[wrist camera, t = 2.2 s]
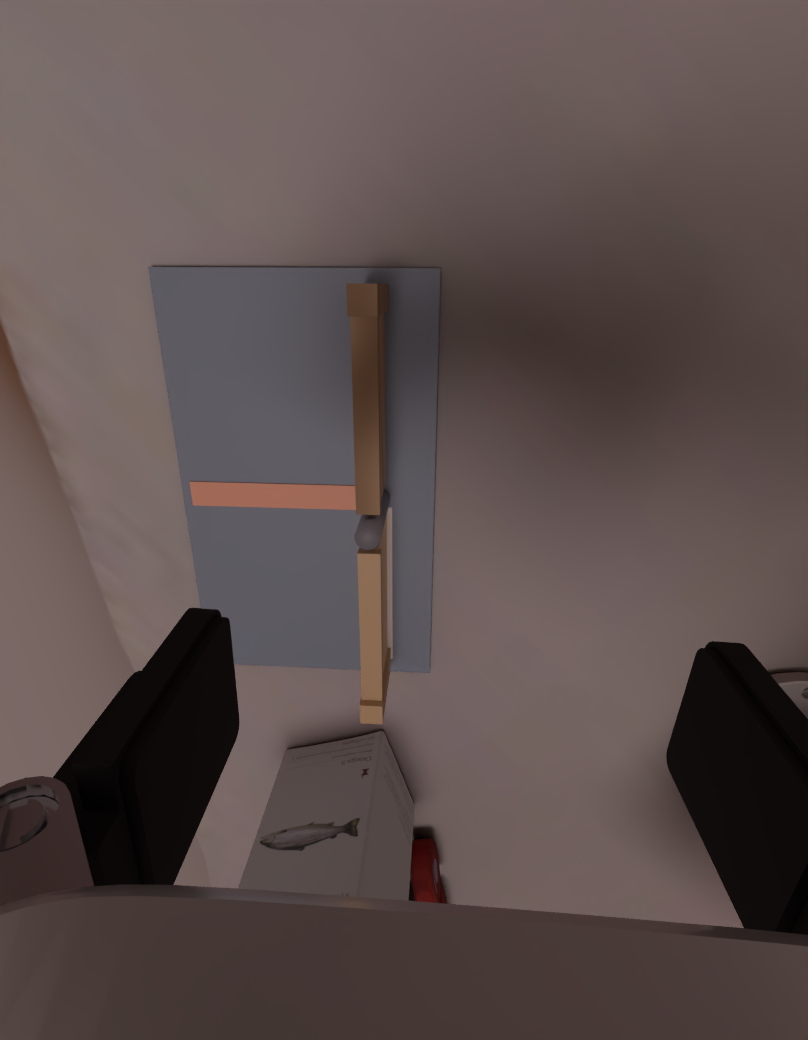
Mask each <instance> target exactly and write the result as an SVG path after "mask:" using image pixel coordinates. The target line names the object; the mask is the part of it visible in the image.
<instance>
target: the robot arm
mask: <svg viewBox="0 0 808 1040" xmlns="http://www.w3.org/2000/svg"><path fill="white" fill-rule="evenodd" d="M238 730H239V712H238V701H237V691H236V680H235V670H234V659H233V649H232V638H231V628H230V621H229V618H227V617H222V616H221V613H220V611H219V610H217V609H201V608H189V609H188V610H187V611H186V612H185V614H184V615H183V616H182V618H181V619H180V620H179V622H178V623H177V624H176V626H175V627H174V628H173V630H172V631H171V632H170V634H169V635H168V636H167V638H166V639H165V640H164V642H163V643H162V644H161V646H160V647H159V648H158V650H157V651H156V652H155V654H154V655H153V656H152V658H151V659H150V660H149V662H148V663H147V664H146V666H145V667H144V668H143V670H142V671H138V672H135V673H134V674H133V675H132V676H131V677H130V678H129V679H128V680H127V682H126V683H125V684H124V686H123V687H122V688H121V689H120V691H119V692H118V693H117V695H116V696H115V697H114V699H113V700H112V701H111V702H110V704H109V705H108V706H107V708H106V709H105V710H104V712H103V713H102V714H101V716H100V717H99V718H98V719H97V721H96V722H95V724H94V725H93V726H92V727H91V729H90V730H89V731H88V733H87V734H86V735H85V736H84V738H83V739H82V740H81V742H80V743H79V744H78V746H77V747H76V748H75V749H74V751H73V752H72V753H71V755H70V756H69V757H68V759H67V760H66V761H65V763H64V764H63V765H62V766H61V768H60V769H59V770H58V772H57V773H56V774H55V776H54V777H53V778H51V777H44V776H39V777H30V778H24V779H20V780H17V781H14V782H10V783H8V784H6V785H4V786H2V787H0V1040H808V673H806V672H791V673H777V674H773V675H770V674H769V673H768V671H767V670H766V669H765V668H764V667H763V665H762V664H761V663H760V662H759V661H758V660H757V658H756V657H755V656H754V655H753V654H752V652H751V651H750V650H749V649H748V648H747V647H746V646H745V645H744V644H741V643H729V642H714V641H712V642H709V643H708V644H707V645H706V647H705V648H701V649H699V650H698V651H697V653H696V656H695V659H694V662H693V666H692V669H691V672H690V676H689V679H688V682H687V686H686V689H685V692H684V696H683V699H682V702H681V706H680V709H679V712H678V715H677V719H676V722H675V725H674V729H673V732H672V735H671V739H670V742H669V745H668V749H667V765H668V768H669V771H670V773H671V775H672V777H673V780H674V782H675V784H676V786H677V788H678V790H679V792H680V794H681V796H682V798H683V801H684V803H685V805H686V807H687V809H688V811H689V813H690V815H691V817H692V819H693V822H694V824H695V826H696V828H697V830H698V832H699V834H700V836H701V838H702V841H703V843H704V845H705V847H706V849H707V851H708V853H709V855H710V857H711V859H712V862H713V864H714V866H715V868H716V870H717V872H718V874H719V876H720V878H721V880H722V883H723V885H724V887H725V889H726V891H727V893H728V895H729V897H730V899H731V901H732V904H733V906H734V908H735V910H736V912H737V914H738V916H739V918H740V920H741V922H742V925H743V927H744V928H734V927H722V926H711V925H699V924H687V923H676V922H664V921H652V920H640V919H629V918H617V917H605V916H594V915H581V914H569V913H556V912H544V911H532V910H519V909H507V908H494V907H481V906H469V905H456V904H443V903H430V902H418V901H405V900H391V899H378V898H364V897H350V896H337V895H323V894H310V893H296V892H282V891H269V890H253V889H235V888H217V887H198V886H180V885H173V884H174V882H175V880H176V877H177V875H178V873H179V870H180V868H181V866H182V863H183V861H184V859H185V856H186V854H187V852H188V849H189V847H190V845H191V843H192V840H193V838H194V836H195V833H196V831H197V829H198V826H199V824H200V822H201V819H202V817H203V815H204V812H205V810H206V808H207V806H208V803H209V801H210V799H211V796H212V794H213V792H214V789H215V787H216V785H217V782H218V780H219V778H220V775H221V773H222V771H223V769H224V766H225V764H226V762H227V759H228V757H229V755H230V752H231V750H232V748H233V745H234V743H235V741H236V738H237V735H238Z"/></svg>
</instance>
